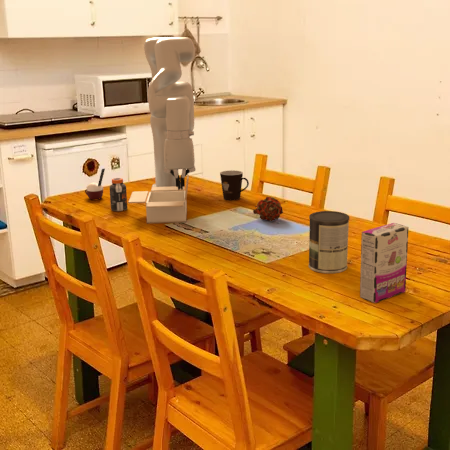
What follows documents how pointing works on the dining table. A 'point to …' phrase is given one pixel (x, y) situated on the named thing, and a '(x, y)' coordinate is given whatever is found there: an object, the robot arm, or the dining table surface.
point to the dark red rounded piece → (268, 209)
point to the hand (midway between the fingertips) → (180, 188)
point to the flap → (186, 187)
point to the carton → (163, 204)
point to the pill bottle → (118, 195)
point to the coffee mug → (232, 184)
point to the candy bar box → (383, 262)
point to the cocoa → (95, 188)
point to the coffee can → (328, 241)
